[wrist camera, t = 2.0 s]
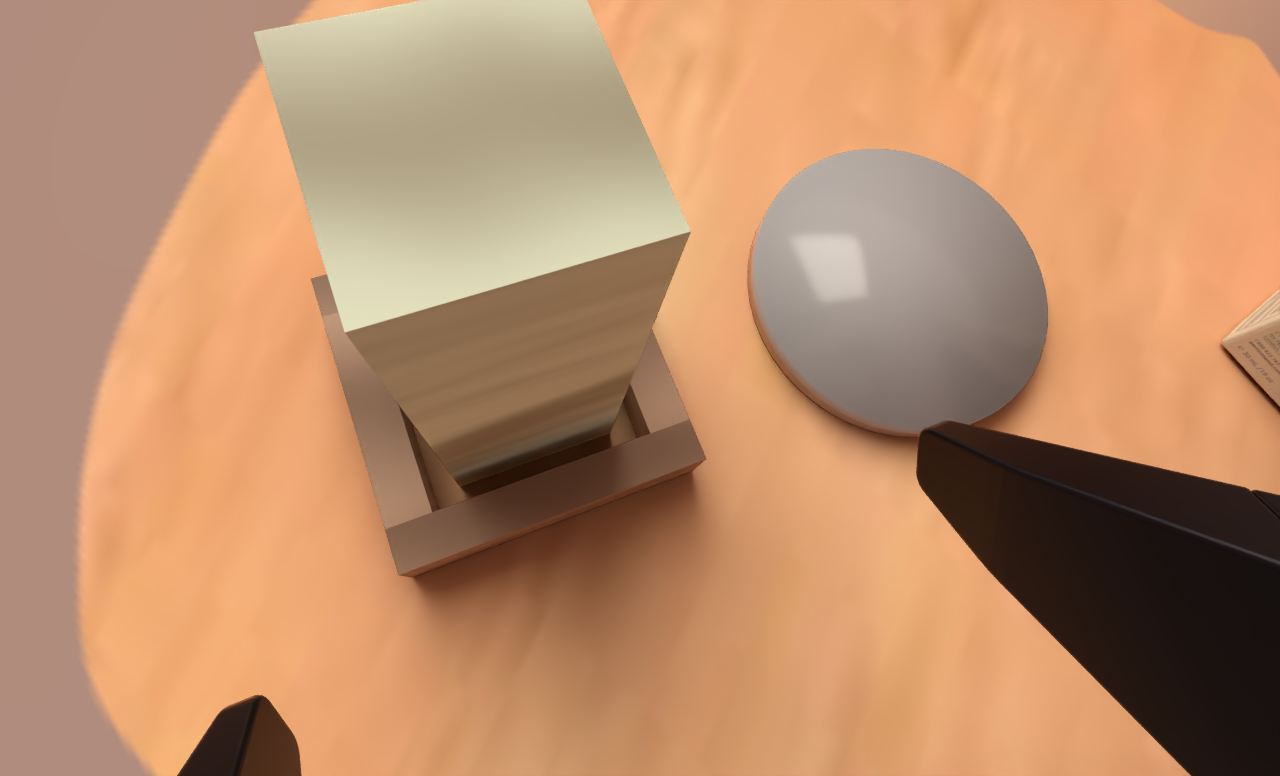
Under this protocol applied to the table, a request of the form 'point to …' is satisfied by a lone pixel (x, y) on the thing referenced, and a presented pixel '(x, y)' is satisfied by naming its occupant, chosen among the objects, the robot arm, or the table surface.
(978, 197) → the coaster
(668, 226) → the tall khaki square post
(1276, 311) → the skincare box
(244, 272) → the table surface
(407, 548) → the pocket block
